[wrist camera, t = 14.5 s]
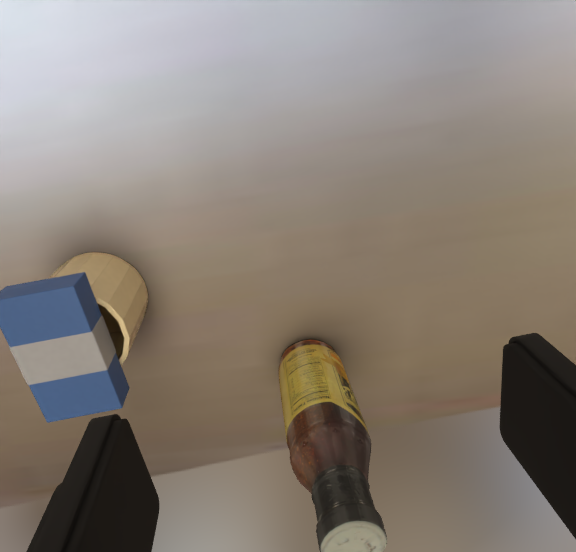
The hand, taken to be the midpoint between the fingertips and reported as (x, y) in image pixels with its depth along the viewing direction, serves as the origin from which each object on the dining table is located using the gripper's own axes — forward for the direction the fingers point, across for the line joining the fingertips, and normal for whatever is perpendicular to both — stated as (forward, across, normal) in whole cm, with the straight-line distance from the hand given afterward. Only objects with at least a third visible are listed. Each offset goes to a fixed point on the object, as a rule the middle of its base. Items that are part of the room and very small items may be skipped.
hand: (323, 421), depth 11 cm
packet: (+21, +16, +7) cm, 27 cm away
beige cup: (+28, +16, +7) cm, 33 cm away
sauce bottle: (+28, -1, +18) cm, 34 cm away
